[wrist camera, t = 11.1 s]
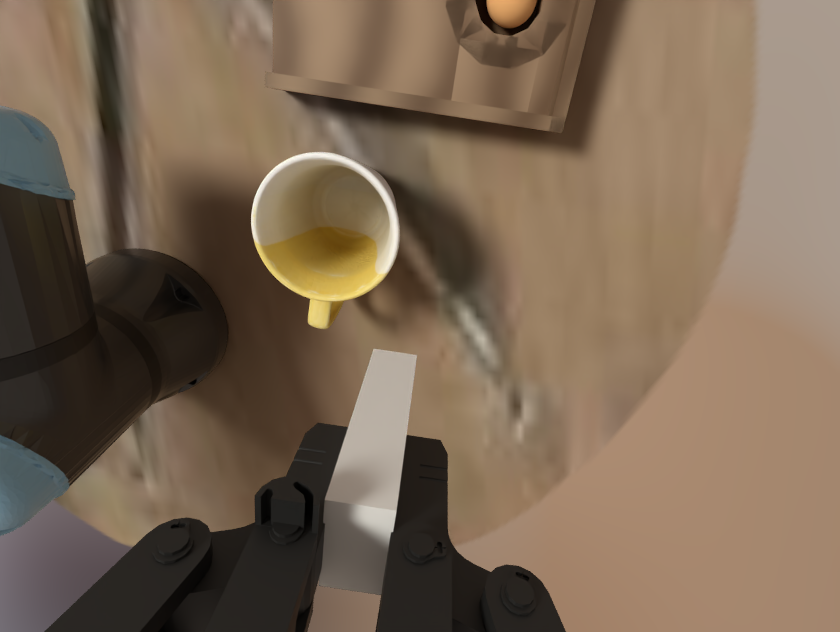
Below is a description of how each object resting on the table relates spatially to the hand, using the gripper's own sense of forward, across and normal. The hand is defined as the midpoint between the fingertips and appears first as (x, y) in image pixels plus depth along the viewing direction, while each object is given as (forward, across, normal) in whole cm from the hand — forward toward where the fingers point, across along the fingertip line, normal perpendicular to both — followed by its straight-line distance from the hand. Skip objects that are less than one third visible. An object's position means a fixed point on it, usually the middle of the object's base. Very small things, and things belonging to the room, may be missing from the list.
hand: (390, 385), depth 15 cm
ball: (+25, +4, +17) cm, 30 cm away
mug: (+27, -7, -1) cm, 28 cm away
